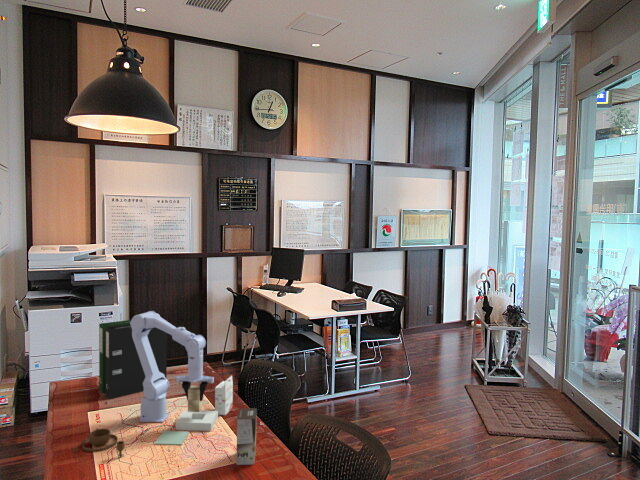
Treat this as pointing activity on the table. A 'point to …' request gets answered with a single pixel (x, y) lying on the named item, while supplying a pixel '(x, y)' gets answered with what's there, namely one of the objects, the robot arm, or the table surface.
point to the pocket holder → (197, 420)
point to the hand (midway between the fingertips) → (195, 399)
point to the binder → (126, 358)
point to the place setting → (101, 441)
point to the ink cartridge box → (224, 397)
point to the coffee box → (246, 436)
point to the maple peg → (194, 399)
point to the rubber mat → (172, 438)
